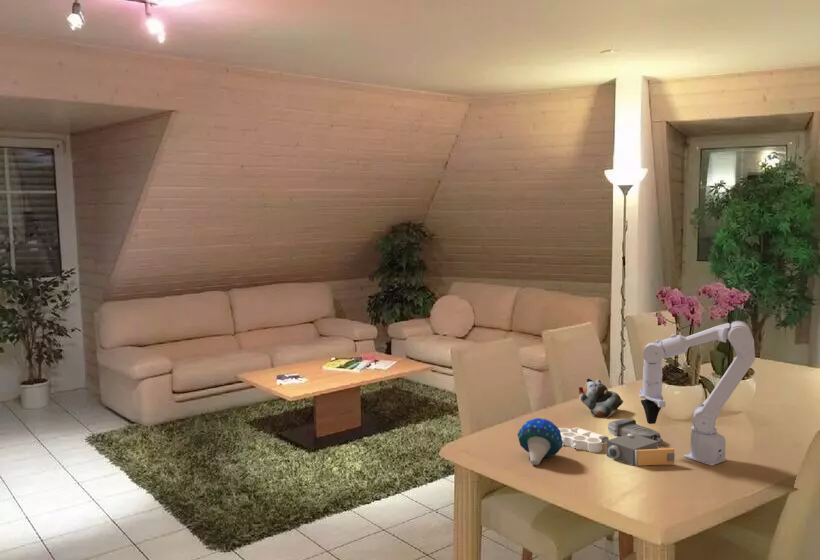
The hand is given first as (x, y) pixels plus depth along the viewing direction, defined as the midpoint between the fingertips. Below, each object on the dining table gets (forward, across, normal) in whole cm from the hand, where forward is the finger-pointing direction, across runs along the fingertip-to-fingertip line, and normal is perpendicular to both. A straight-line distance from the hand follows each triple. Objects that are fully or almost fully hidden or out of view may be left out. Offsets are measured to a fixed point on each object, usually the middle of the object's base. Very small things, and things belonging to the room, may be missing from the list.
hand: (651, 423), depth 218 cm
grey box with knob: (+9, +3, -7) cm, 12 cm away
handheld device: (+10, -13, +1) cm, 17 cm away
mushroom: (+10, +1, -36) cm, 37 cm away
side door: (+9, +11, -4) cm, 15 cm away
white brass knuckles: (+10, -11, -19) cm, 24 cm away
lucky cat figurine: (+10, -42, -1) cm, 44 cm away
